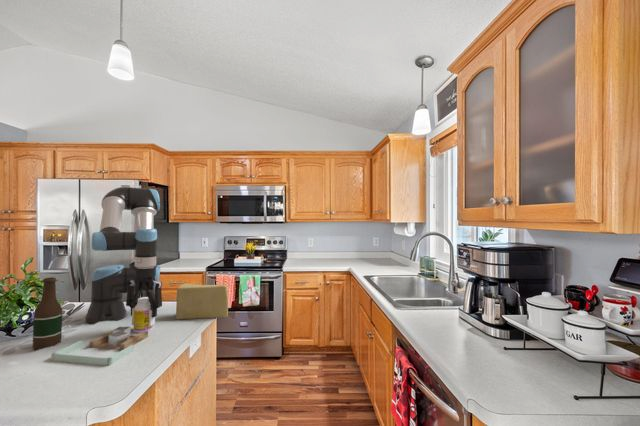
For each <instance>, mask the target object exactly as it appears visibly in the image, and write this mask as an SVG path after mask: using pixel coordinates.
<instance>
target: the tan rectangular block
mask: <svg viewBox="0 0 640 426" xmlns="http://www.w3.org/2000/svg"><path fill="white" fill-rule="evenodd" d="M175 307H176V309H175V319H176V320H192V319H222V318H223V319H224V318H227V317H228V316H229V293H228V286H227V285H226V284H197V283H196V284H195V283H183V284H181V285H179V286H178V287H177V288H176V306H175Z"/></svg>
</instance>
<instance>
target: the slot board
mask: <svg viewBox="0 0 640 426" xmlns="http://www.w3.org/2000/svg"><path fill="white" fill-rule="evenodd" d="M110 334H113V330H112V331H109V332H107V333H105V334H103V335H101V336H99V337H96V338H94V339H93V340H90V341H89V347H88V348H91V349H101V350H102V349H103V350H112V351H113V350H114V351H122V350H124V349H125V348H127V347H129V346H131V345H136V344H138V343H139V342H141V341H143V340H145V339H147V338H148V337H149V331H144V332H142V333H137V334H136V335H131V334H130V338H128V339H127V341H125V342H123V343H121V344H120V347H119V348H117V349H115V348H111V347H108V340H109V335H110Z"/></svg>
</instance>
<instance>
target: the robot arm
mask: <svg viewBox="0 0 640 426" xmlns="http://www.w3.org/2000/svg"><path fill="white" fill-rule="evenodd" d="M160 200H161V199H160V193H159V192H158V190H157V189H155V188H149V187H145V188H144V187H129V186H128V187H127V186H122V187H117V188H114V189H112V190H110V191H109V192H107V193H106V194H105V195H104V196H103V198H102V200H101V209H102V214H101V220H100V221H101V222H100V227H99V231H95V232H93V233H92V235H91V249H92V250H93V251H95V252H96V251H99V252H100V251H101V252H105V251H133V253H132V254H133V255H132V257H133V258H132V261H131V262H130V263H129V266H128V267H125V266H124V265H123V264H111V265H105V266H102V267H98V268H96V269H94V270H93V272H92V273H91V275H92V276H91V292H90V293H91V296H90V304H89V306H88V309H87V313H86V315H85V321H84V322H85V323H87V324H93V325H95V324H98V323H101V322H117V321H120V320H123V319H124V318H126V316H127V309H126V307H129V308H130V316H131V325H132V326H134V308H135V306H136V305H138V299H139V298H141V296H142V293H143V292H145V293H146V295H147V297H148V299H149V302H150V306H151V309H150V310H149V326H152V325H156V317H157V316H158V309H159V308H161V307H162V306H163V298H162V297H163V296H162V286H163V282H162V281H160V274H161V266H160V265H158V262H157V246H158V245H157V243H158V230H157V229H156V228H154V224H155V223H154V220H155V219H154V218H155V217H154V216H156V215H157V213H158V211H159V212H160V208H161V203H160V202H161V201H160ZM124 210H127V211H130V213H131V215H133V216H134V217H133V219H134V220H133V226H134V227H133V231H122V222H123V221H122V220H123V211H124ZM124 294H126V301H125V303H124V299H123V295H124Z"/></svg>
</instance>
